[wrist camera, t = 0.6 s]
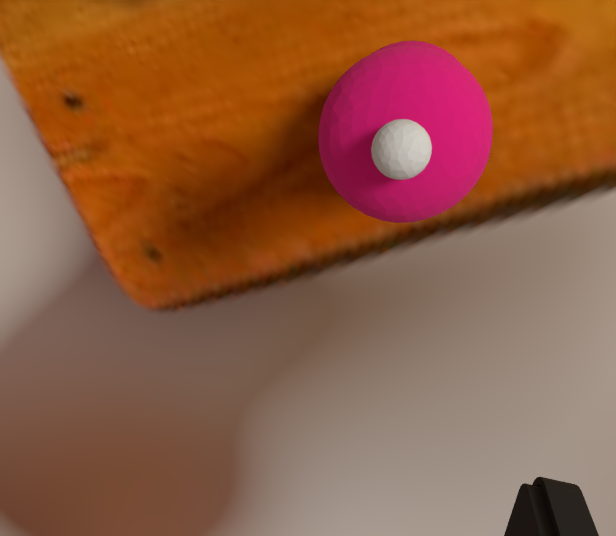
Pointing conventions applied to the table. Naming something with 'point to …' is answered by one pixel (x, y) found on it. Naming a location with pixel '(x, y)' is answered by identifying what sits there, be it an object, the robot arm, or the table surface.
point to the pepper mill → (405, 132)
